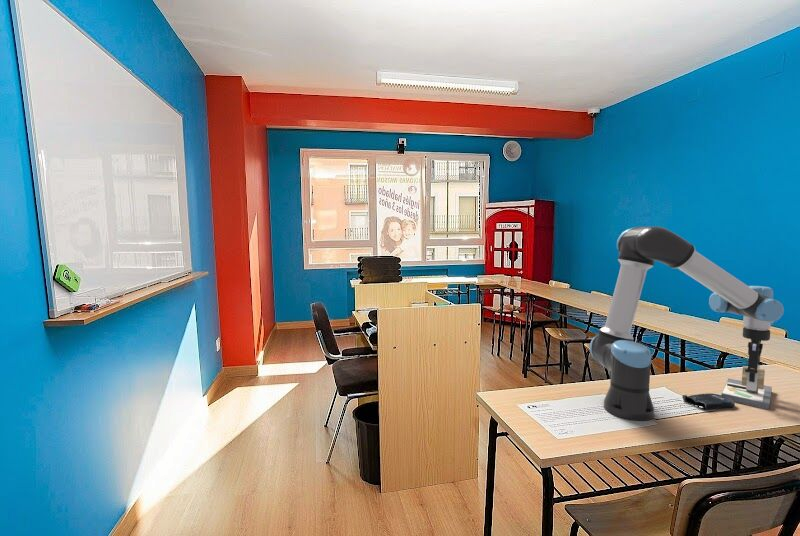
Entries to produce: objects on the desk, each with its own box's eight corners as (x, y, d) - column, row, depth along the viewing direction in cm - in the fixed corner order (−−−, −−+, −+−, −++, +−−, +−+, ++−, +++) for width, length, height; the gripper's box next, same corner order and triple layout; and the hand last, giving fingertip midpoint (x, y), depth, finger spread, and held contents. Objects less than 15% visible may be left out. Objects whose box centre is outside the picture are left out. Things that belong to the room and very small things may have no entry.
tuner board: (768, 409, 137) (769, 403, 137) (721, 398, 146) (721, 392, 146) (771, 391, 152) (771, 385, 152) (728, 383, 162) (728, 377, 161)
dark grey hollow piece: (708, 417, 135) (741, 406, 138) (705, 401, 135) (738, 391, 138) (683, 409, 144) (715, 399, 147) (680, 394, 144) (712, 385, 147)
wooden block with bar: (762, 395, 143) (764, 371, 143) (726, 387, 151) (728, 364, 150) (763, 392, 146) (764, 369, 145) (727, 385, 153) (729, 363, 152)
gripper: (769, 335, 133) (764, 397, 135) (771, 324, 150) (767, 379, 152) (739, 332, 139) (735, 391, 141) (745, 321, 156) (742, 374, 157)
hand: (752, 385), depth 146 cm, fingers open, 12 cm apart
